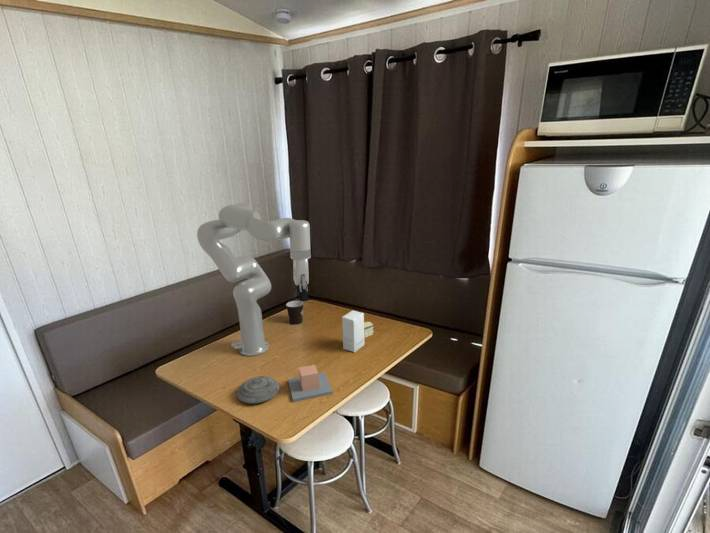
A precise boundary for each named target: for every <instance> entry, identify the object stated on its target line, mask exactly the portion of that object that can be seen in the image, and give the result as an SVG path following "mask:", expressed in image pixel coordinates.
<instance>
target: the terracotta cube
mask: <svg viewBox="0 0 710 533" xmlns="http://www.w3.org/2000/svg"><path fill="white" fill-rule="evenodd" d="M298 372H299V373H298V376H299V377H300V383H301V387H302V390H303V391H306V390H311V389H316V388H319V375H318V373H319V371H318V369H317V366H316V364H312V365H307V366H306V365H305V366H301V367H298Z"/></svg>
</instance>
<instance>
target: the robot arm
mask: <svg viewBox="0 0 710 533" xmlns="http://www.w3.org/2000/svg"><path fill="white" fill-rule="evenodd" d="M241 231H245V232H248V233H249V234H250V235H251V236H252V237H253V238H254V239H257V240H261V241H264V242H268V243H269V242H271V243H275V242H279V241H281V240H285V239H288V238H289V251H290V254H289V255H290V259H291V260H292V265H293V267H292V269H293V272H292V273H293V281H294V284H295V285H296V293H299V294H298V296H299V301H302V302H308V301H309V289H308V288H309V287H308V285H309V280H310V278H309V277H310V276H309V274H310V273H309V259H311V257H312V254H311V249H312V248H311V227H310V222H309V221H307V220H305V219H302V220H301V219H298V220H297V219H294V218H291V217H283V218H280V219H274V220H271V221H269V220H268V221H267V220H263V219H262V218H261V215H260V213H259V212H258V211H256V210H253V208H252V207H251V206H250V205H249V204H247V203H243V202H242V203H235V204H230V205H226V206H224V207H222V208H221V209H220V210H219V212H218V219H214V220H209V221H206V222H203V223H202V224H201V225H199V227H198V229H197V233H196V237H197V242H198V244H199V245H200V247H201V248H202V250H203V251H204V252H205V253H206V254H207V255H208V256H209V257H210V259H211V260H212V261H213V263H214V264H215V267H217V269H218V270H219V271H220V273H221V274H222V276H223V277H224V279H226V281H227V282H229V283H236V282H239V281H241V282H240V283H238V284H236V286H234V288H233V291H232V293H233V294H232V295H233V299H234V301H235V304H236V308H237V315H238V320H239V328H240V334H241V335H240V336H241V339H240V341H239V340H238V342H231V348H234V349H235V350H238V349H239V353H240V354H241V355H243V356H248V357H252V356H254V357H255V356H258V355H261V354H264V353H265V352H266V351H268V349H269V348H270V344H269V343H268V342H267V341H266V340H265V332H264V322H263V314H262V309H261V307H260V305H259V304H258V302H257V301H258V300H260V299H261V298H264V297H265V296H267V295H269V293H270V292H271V290H272V283H271V280H270V279H269V277H268V276H267V274H266V273H265V271H264V270H263V268H262V267H261V266H260V265H259V263H258V262H257V260H256V259H255V258H254V257H252V256H250V255H247V254H246V255H241V256H238V257H237V256H236V255H235V254H234V253H233V251H232V249H230V248H229V246H227V245H226V244H224V243H222V242H221V240H225V239H227V238H228V239H229V238H233V237H235V236H237V235H238V234H239V233H240V232H241ZM244 279H246V280H244ZM242 280H243V281H242Z"/></svg>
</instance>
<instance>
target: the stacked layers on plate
mask: <svg viewBox="0 0 710 533" xmlns="http://www.w3.org/2000/svg"><path fill="white" fill-rule="evenodd" d="M373 325H374V324H373V323H372V322H371V321H364V339H365V338H367V337H369V336H372V335H374V332H375V331H374V327H375V326H373Z"/></svg>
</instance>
